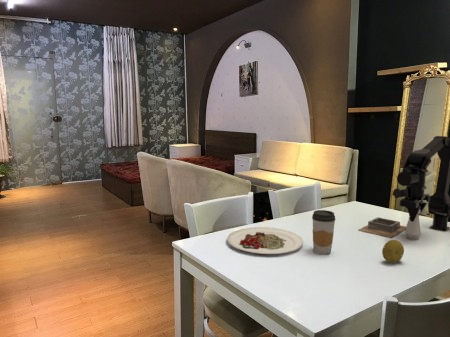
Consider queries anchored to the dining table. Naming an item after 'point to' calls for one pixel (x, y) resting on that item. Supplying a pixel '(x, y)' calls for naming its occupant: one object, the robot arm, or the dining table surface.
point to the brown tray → (383, 227)
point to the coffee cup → (323, 231)
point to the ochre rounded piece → (393, 251)
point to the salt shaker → (413, 228)
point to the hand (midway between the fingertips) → (413, 220)
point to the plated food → (265, 240)
